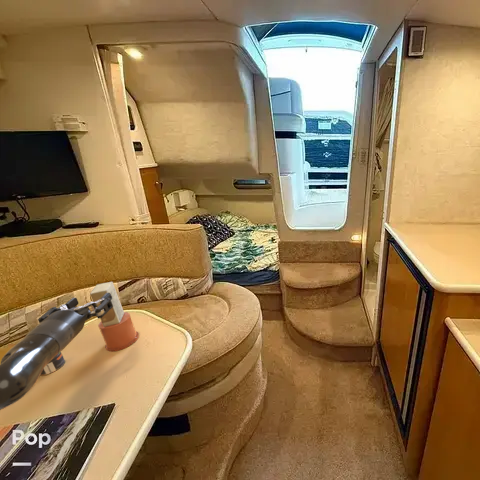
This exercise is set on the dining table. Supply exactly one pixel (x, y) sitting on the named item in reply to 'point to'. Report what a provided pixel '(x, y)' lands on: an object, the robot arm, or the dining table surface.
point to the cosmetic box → (116, 311)
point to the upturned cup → (119, 334)
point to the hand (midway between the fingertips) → (92, 297)
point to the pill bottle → (54, 364)
